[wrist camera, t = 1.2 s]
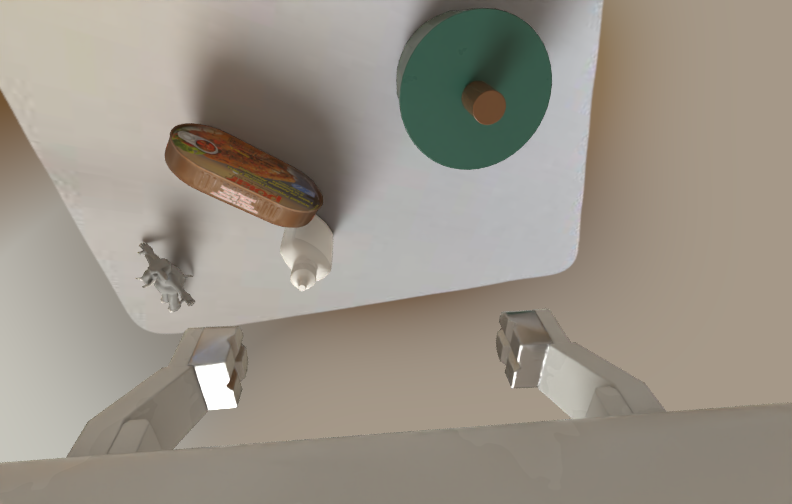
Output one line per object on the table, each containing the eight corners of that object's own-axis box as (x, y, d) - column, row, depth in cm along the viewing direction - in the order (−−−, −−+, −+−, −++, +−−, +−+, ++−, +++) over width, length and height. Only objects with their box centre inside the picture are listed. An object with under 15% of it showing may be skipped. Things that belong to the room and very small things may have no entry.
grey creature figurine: (124, 286, 52) (110, 241, 46) (172, 264, 56) (165, 219, 49) (171, 346, 50) (163, 308, 43) (218, 318, 54) (218, 279, 47)
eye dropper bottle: (321, 201, 49) (314, 258, 39) (336, 242, 52) (333, 305, 42) (284, 210, 49) (267, 269, 39) (301, 251, 52) (290, 315, 42)
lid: (398, 7, 33) (406, 11, 29) (560, 7, 34) (591, 10, 30) (398, 167, 40) (404, 190, 36) (533, 163, 41) (555, 184, 37)
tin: (326, 183, 48) (322, 218, 41) (313, 206, 49) (307, 243, 42) (189, 112, 42) (157, 138, 35) (178, 139, 44) (145, 169, 37)
